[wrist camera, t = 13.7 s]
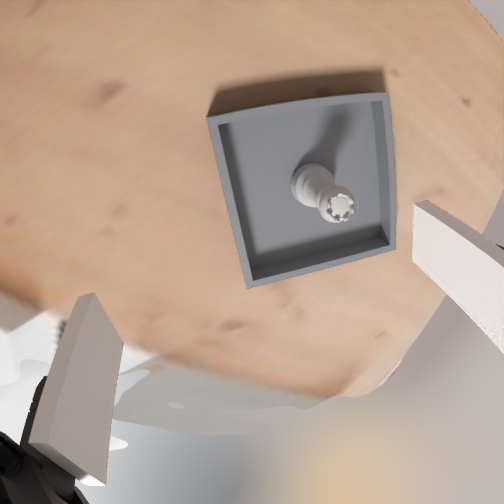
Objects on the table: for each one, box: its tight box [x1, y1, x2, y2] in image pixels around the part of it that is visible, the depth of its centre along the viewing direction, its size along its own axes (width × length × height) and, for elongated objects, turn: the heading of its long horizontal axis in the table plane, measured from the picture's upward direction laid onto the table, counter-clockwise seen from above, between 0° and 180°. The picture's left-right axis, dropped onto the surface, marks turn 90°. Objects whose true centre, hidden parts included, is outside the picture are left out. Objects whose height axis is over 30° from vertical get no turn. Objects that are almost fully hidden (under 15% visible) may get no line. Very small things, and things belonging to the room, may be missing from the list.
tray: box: [206, 92, 396, 289], centre depth 32 cm, size 18×18×3 cm
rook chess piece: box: [291, 163, 355, 223], centre depth 29 cm, size 4×4×8 cm
